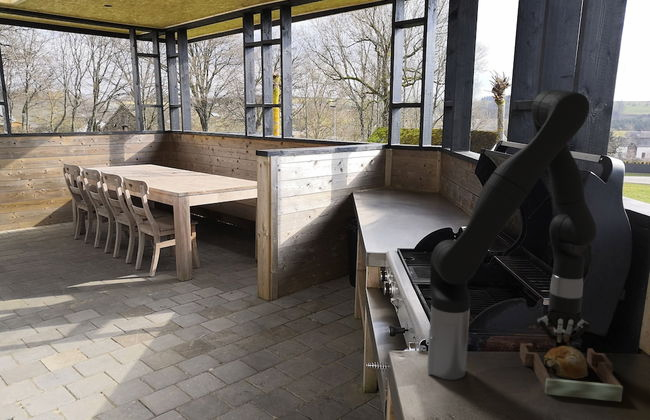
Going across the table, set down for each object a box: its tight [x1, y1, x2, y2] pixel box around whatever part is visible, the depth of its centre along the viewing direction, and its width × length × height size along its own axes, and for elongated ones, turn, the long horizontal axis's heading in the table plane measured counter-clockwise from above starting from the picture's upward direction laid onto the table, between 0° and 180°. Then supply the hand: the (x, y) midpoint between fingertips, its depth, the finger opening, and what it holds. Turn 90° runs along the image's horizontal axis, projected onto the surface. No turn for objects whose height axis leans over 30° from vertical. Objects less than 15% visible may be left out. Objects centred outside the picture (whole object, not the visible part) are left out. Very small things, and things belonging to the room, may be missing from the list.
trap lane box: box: [519, 342, 624, 403], centre depth 120 cm, size 20×20×4 cm
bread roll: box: [543, 345, 589, 380], centre depth 123 cm, size 10×10×8 cm
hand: (559, 353), depth 129 cm, fingers closed
